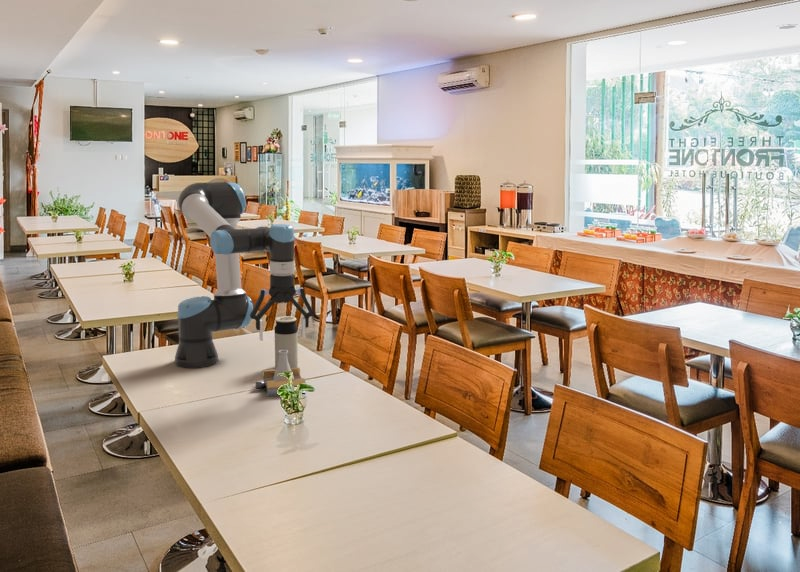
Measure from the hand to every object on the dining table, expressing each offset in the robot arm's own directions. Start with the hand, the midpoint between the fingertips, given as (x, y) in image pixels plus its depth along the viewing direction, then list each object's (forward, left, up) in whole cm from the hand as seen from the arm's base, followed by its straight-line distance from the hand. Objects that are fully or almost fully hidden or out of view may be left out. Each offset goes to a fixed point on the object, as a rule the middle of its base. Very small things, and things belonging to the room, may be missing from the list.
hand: (282, 338), depth 222 cm
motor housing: (0, -1, -17) cm, 17 cm away
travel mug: (-21, +4, -17) cm, 28 cm away
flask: (0, 0, -14) cm, 14 cm away
